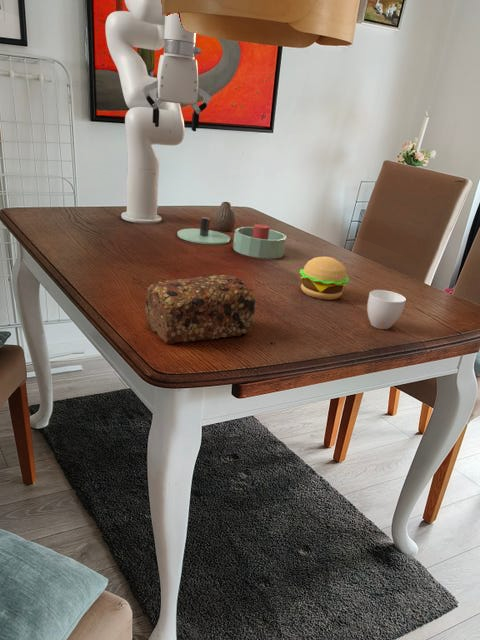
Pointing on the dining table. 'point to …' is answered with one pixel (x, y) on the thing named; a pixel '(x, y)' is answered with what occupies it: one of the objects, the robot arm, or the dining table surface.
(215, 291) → the bread
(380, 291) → the cup
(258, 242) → the pot
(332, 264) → the hamburger
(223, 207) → the vase
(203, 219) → the lid
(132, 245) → the dining table surface
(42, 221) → the dining table surface
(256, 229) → the red cylinder
